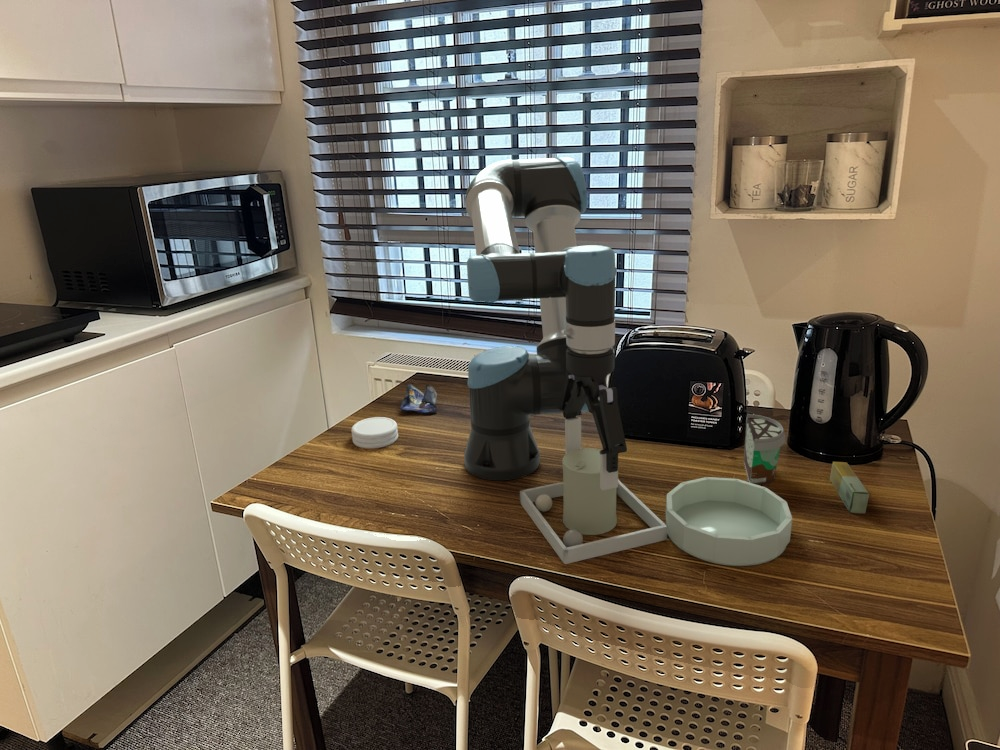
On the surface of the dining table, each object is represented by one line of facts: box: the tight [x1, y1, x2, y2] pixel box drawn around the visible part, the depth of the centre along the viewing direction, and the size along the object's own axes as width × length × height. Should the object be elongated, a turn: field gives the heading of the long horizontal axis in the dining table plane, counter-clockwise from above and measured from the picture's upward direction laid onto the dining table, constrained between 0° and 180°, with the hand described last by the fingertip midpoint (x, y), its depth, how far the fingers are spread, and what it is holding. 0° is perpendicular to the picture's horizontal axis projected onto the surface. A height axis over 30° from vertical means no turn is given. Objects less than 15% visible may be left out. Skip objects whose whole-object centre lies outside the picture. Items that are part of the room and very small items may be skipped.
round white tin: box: [351, 416, 399, 450], centre depth 155 cm, size 10×10×4 cm
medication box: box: [829, 461, 870, 514], centre depth 125 cm, size 12×3×4 cm, turn 172°
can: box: [561, 447, 618, 536], centre depth 119 cm, size 9×9×12 cm
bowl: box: [665, 476, 793, 567], centre depth 115 cm, size 19×19×5 cm
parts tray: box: [519, 479, 668, 565], centre depth 120 cm, size 20×18×2 cm
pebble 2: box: [562, 529, 584, 548], centre depth 113 cm, size 3×3×3 cm
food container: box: [743, 413, 786, 486], centre depth 132 cm, size 12×6×10 cm, turn 168°
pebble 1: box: [534, 494, 553, 513], centre depth 124 cm, size 3×3×3 cm
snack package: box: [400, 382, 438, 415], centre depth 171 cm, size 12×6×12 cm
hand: (590, 469), depth 117 cm, fingers open, 13 cm apart
